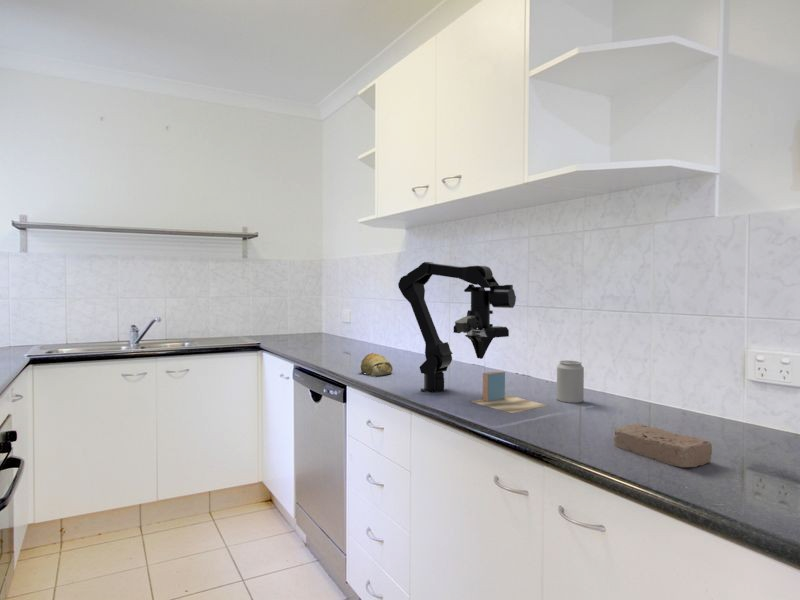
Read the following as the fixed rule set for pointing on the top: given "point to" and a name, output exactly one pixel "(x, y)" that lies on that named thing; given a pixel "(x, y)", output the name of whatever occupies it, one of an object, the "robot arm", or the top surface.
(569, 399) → the can
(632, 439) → the brick
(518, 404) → the board
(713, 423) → the top surface
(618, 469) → the top surface
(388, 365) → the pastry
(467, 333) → the robot arm
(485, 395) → the tile
